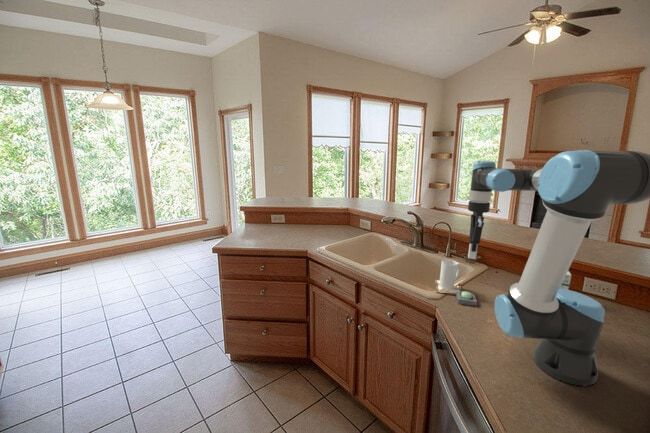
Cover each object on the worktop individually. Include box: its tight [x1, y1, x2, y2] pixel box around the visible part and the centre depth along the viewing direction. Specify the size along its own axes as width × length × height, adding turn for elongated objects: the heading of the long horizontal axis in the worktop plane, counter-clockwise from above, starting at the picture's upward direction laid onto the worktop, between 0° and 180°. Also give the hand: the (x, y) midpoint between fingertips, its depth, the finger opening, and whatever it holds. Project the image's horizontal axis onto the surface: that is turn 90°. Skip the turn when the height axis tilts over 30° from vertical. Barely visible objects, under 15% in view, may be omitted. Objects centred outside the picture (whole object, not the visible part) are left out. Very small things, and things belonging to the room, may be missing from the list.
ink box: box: [559, 270, 572, 290], centre depth 132 cm, size 9×5×12 cm, turn 62°
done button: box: [461, 290, 473, 300], centre depth 128 cm, size 4×4×3 cm
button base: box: [455, 291, 478, 307], centre depth 128 cm, size 7×7×2 cm
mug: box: [439, 259, 461, 289], centre depth 138 cm, size 10×7×12 cm, turn 112°
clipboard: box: [434, 279, 463, 297], centre depth 139 cm, size 13×11×1 cm
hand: (471, 258), depth 123 cm, fingers closed
